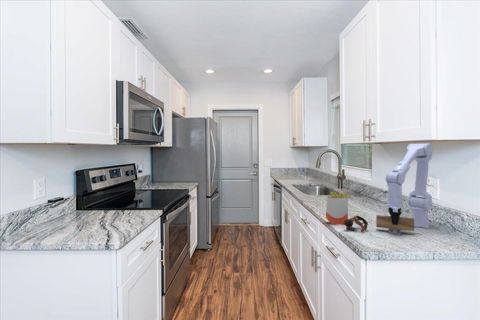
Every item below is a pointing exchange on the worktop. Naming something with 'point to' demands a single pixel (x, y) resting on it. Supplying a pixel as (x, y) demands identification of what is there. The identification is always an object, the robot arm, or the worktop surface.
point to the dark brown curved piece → (349, 222)
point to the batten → (403, 224)
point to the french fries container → (337, 208)
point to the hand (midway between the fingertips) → (394, 223)
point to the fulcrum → (394, 231)
